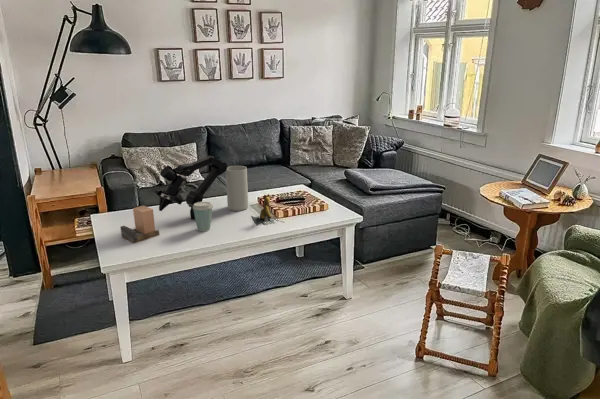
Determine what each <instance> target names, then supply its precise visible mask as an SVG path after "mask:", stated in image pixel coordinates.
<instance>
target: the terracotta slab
mask: <svg viewBox="0 0 600 399" xmlns="http://www.w3.org/2000/svg"><path fill="white" fill-rule="evenodd" d="M132 211H133V220H134V229H136V230H137V231H139V232H141V233H143V234H147V233H151V232H154V231H156V225H155V224H156V223H155V217H154V216H155V215H154V208H151V207H148V206H146V205H140V206H137V207H133V208H132Z"/></svg>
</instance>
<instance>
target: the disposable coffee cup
mask: <svg viewBox="0 0 600 399" xmlns="http://www.w3.org/2000/svg"><path fill="white" fill-rule="evenodd" d="M213 207H214V205H213V203H212V202H210V201H202V202H198V203H195V204H194V205H193V210H194V215H195V219H194V221H195V224H196V228H197V231H199V232H208V231H210V230H211V224H212V213H213Z"/></svg>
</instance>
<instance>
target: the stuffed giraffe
mask: <svg viewBox="0 0 600 399" xmlns="http://www.w3.org/2000/svg"><path fill="white" fill-rule="evenodd" d="M262 198H263V208H261V210H260V213H259V215H258V216H253V215H251V216H250V217H251V218H252V220H253V221H254V224H255V225H256V227H257V226H259V225H261V224H262V225H263V226H265V225H267V226H268V224H269V225H272V224H276V225H277V223H276V222H280V223H283V224H284V223H285V221H282V220H280V219H279V220H278V219H277V220H276V218H273V219H271V218H272V215H271V214H270V212H271V211H270V209H269V206H270V204H271V200H270V199H271V195H270V194H269V193H268V194H267V195H266V194H264V195H263V196H262ZM274 220H276V221H275V222H274ZM265 222H266V223H265Z"/></svg>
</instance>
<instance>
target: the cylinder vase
mask: <svg viewBox="0 0 600 399" xmlns="http://www.w3.org/2000/svg"><path fill="white" fill-rule="evenodd" d="M225 183H226V184H225V185H226V200H227V201H226V203H227V209H228V210H229V211H233V212H239V211H240V212H241V211H246V210H247V209H249V192H248V191H249V190H248V188H249V187H248V168H247V166H244V165H230V166H227V170H226V171H225Z"/></svg>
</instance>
